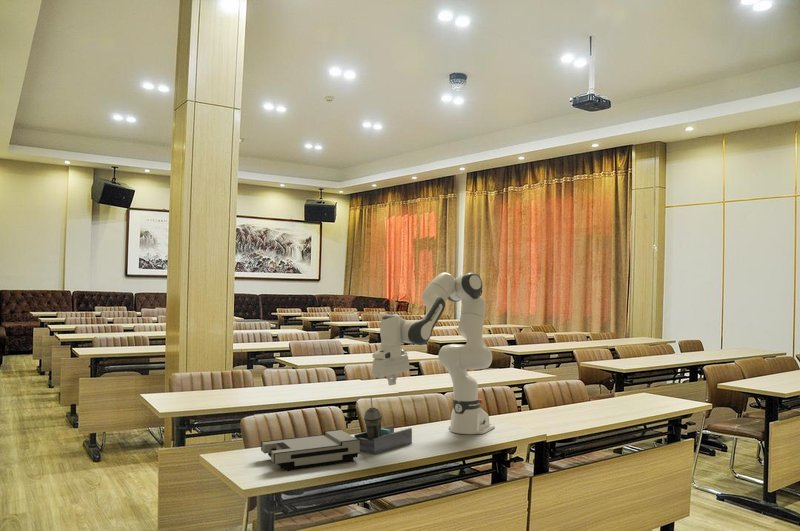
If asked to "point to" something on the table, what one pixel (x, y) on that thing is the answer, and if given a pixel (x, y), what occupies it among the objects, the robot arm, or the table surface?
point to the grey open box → (384, 440)
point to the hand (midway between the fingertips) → (392, 384)
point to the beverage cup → (373, 422)
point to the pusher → (385, 431)
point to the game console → (312, 450)
